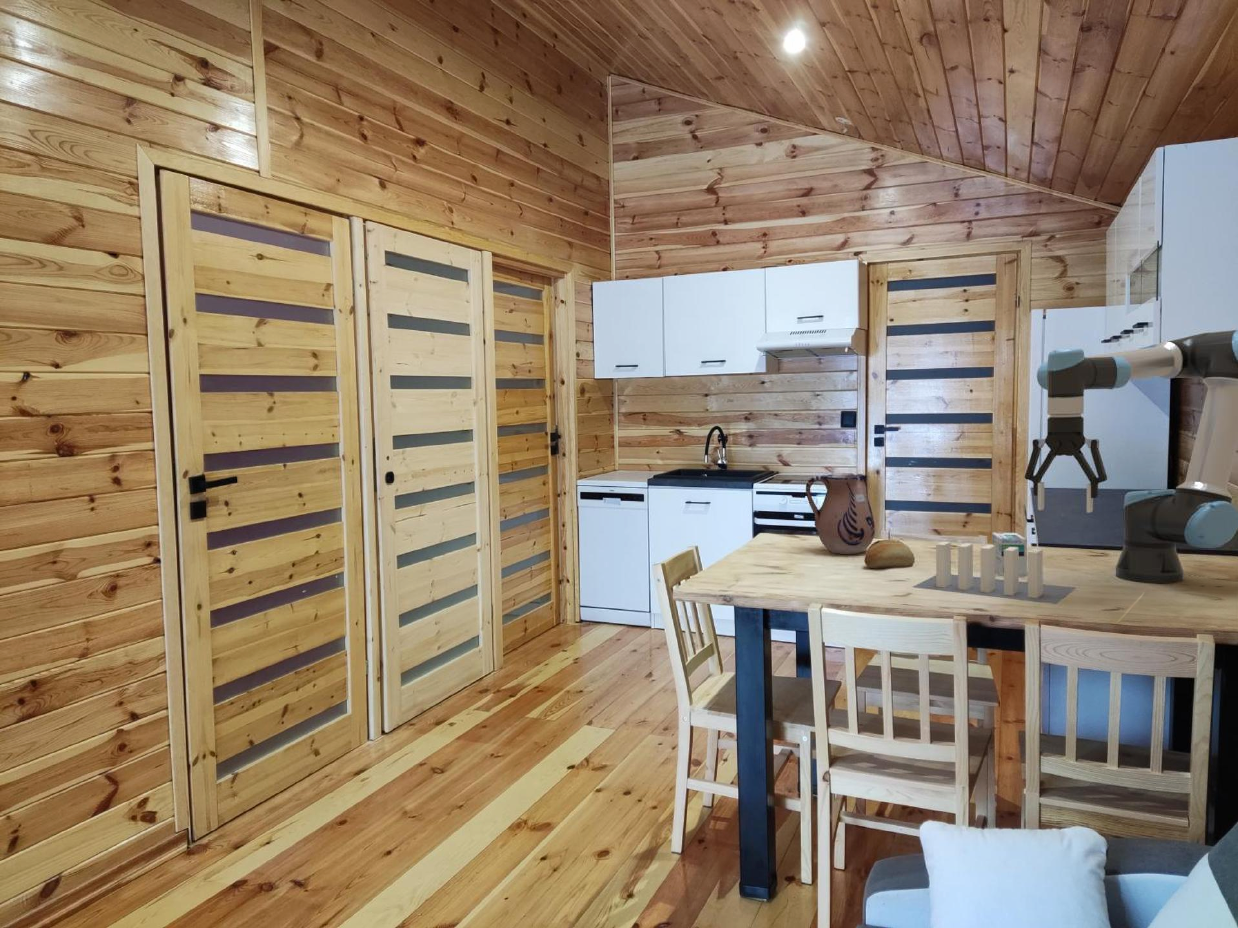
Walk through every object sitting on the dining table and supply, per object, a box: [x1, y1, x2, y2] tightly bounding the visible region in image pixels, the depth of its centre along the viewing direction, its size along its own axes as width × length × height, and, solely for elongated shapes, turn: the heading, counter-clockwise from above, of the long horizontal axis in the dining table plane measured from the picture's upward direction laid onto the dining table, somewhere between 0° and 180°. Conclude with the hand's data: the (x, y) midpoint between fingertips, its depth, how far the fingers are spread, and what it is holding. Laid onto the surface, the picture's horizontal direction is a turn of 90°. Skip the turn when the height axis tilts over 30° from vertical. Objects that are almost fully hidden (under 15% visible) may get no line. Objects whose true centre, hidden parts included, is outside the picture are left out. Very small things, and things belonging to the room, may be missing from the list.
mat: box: [912, 573, 1077, 605], centre depth 216 cm, size 34×20×1 cm, turn 50°
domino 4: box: [1003, 547, 1020, 595], centre depth 209 cm, size 2×5×11 cm, turn 140°
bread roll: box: [863, 539, 916, 569], centre depth 248 cm, size 10×15×8 cm, turn 99°
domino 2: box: [957, 542, 974, 590], centre depth 216 cm, size 2×5×11 cm, turn 139°
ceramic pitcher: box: [805, 472, 876, 555], centre depth 272 cm, size 18×21×25 cm
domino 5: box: [1027, 548, 1044, 598], centre depth 206 cm, size 2×5×11 cm, turn 140°
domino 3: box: [979, 544, 996, 593], centre depth 213 cm, size 2×5×11 cm, turn 140°
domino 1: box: [935, 541, 952, 587], centre depth 220 cm, size 2×5×11 cm, turn 140°
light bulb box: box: [992, 532, 1028, 577], centre depth 233 cm, size 11×7×11 cm, turn 168°
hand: (1064, 510), depth 200 cm, fingers open, 10 cm apart
